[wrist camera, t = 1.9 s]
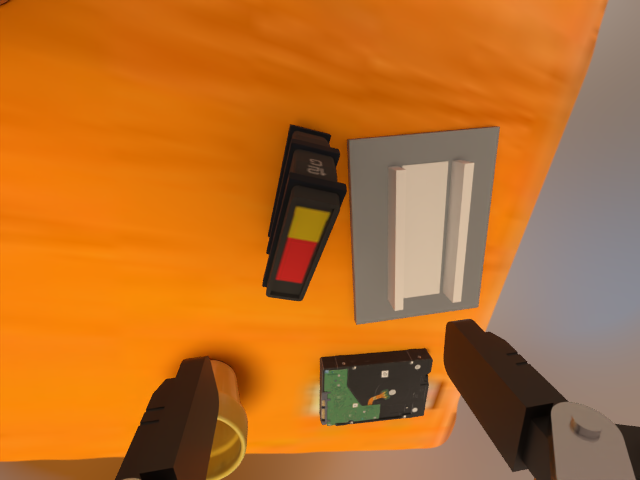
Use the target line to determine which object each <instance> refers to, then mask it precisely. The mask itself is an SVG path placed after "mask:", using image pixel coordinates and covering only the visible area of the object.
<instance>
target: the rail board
mask: <svg viewBox="0 0 640 480" xmlns="http://www.w3.org/2000/svg"><path fill="white" fill-rule="evenodd" d="M499 129H500V127H484V128H473V129H461V130H450V131H439V132H427V133H416V134H405V135H394V136H382V137H371V138H360V139H348V140H347V151H348V174H349V198H350V221H351V245H352V268H353V292H354V315H355V322H356V325H358V324H365V323H372V322H379V321H386V320H393V319H399V318H406V317H413V316H420V315H427V314H434V313H441V312H448V311H455V310H462V309H469V308H476V307H478V304H479V296H480V287H481V279H482V271H483V262H484V254H485V246H486V237H487V229H488V221H489V212H490V204H491V196H492V187H493V179H494V171H495V162H496V154H497V146H498V137H499Z"/></svg>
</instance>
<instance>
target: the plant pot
mask: <svg viewBox="0 0 640 480" xmlns="http://www.w3.org/2000/svg"><path fill="white" fill-rule="evenodd" d="M210 361H211V365H212V369H213V373H214V377H215V381H216V385H217V389H218V394H219V413H218V418H217V423H216V429H215V434H214V439H213V444H212V449H211V455H210V460H209V465H208V470H207V475H206V480H220V479H222V478H224V477H225V476H227V475H229V474H230V473H231V472H233V471H234V470H235V469H236V468H237V467H238V466H239V464H240V463H241V462H242V460H243V458H244V455H245V452H246V446H247V431H248V421H247V415H246V412H245V410H244V408H243V407H242V405H241V404H240V397H239V391H238V384H237V377H236V374H235V372H234V371H233V369H232V368H231V367H230V366H228V365H227V364H225V363H223V362H221V361H217V360H210Z"/></svg>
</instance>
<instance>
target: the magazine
mask: <svg viewBox="0 0 640 480" xmlns="http://www.w3.org/2000/svg"><path fill="white" fill-rule="evenodd" d="M330 138H331V135H330V134H327V133H323V132H319V131H315V130H311V129H307V128H303V127H299V126H295V125H290V128H289V133H288V138H287V143H286V148H285V153H284V158H283V163H282V168H281V173H280V178H279V183H278V188H277V193H276V198H275V203H274V208H273V212H272V217H271V222H270V227H269V232H268V237H270V238H269V242H268V247H267V252H266V253H267V254H269V258H268V262H267V266H266V270H265V274H264V278H263V285H262V286H263V287H267V290H266V296H268V297H272V298H279V299H286V300H294V301H301V300H303V298H304V295H305V293H306V291H307V288H308V286H309V283H310V281H311V279H312V276H313V274H314V271H315V269H316V267H317V264H318V262H319V259H320V257H321V254H322V252H323V250H324V247H325V245H326V242H327V240H328V238H329V235H330V233H331V230H332V228H333V226H334V223H335V221H336V218H337V216H338V214H339V211H340V207H341V204H342V202H343V199H344V197H345V195H346V192H347V189H346V184H343V183H338V182H337V173H336V166H337V163H338V160H339V157H340V152H339V150H338V149H335V148H331V147H330V145H329V142H330Z"/></svg>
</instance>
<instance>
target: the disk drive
mask: <svg viewBox="0 0 640 480" xmlns="http://www.w3.org/2000/svg"><path fill="white" fill-rule="evenodd" d="M432 362H433V360H432V358H431V356H430V355H429V353H428V352H427V350H426V349H425V348H424V349H409V350H402V351H391V352H380V353H367V354H356V355H339V356H331V357H321V358H320V420H321V423H322V425H325V424H327V426H330V425H336V426H340V425H347V424H356V423H364V422H374V421H383V420H391V419H400V418H411V417H418V416H423V415H424V410H425V403H426V397H427V392H428V386H429V384H428V375H427V374H428V373H430V372H431V367H432Z"/></svg>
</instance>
